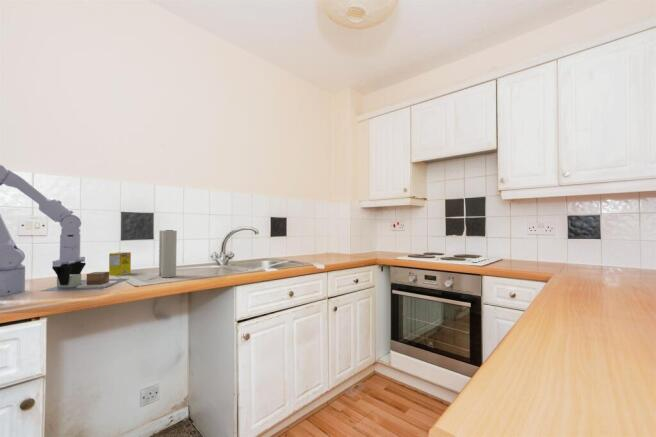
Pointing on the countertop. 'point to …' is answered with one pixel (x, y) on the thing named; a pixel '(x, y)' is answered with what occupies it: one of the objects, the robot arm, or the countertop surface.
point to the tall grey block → (167, 253)
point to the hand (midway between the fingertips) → (69, 283)
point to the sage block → (71, 281)
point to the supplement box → (120, 263)
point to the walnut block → (97, 278)
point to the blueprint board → (88, 286)
